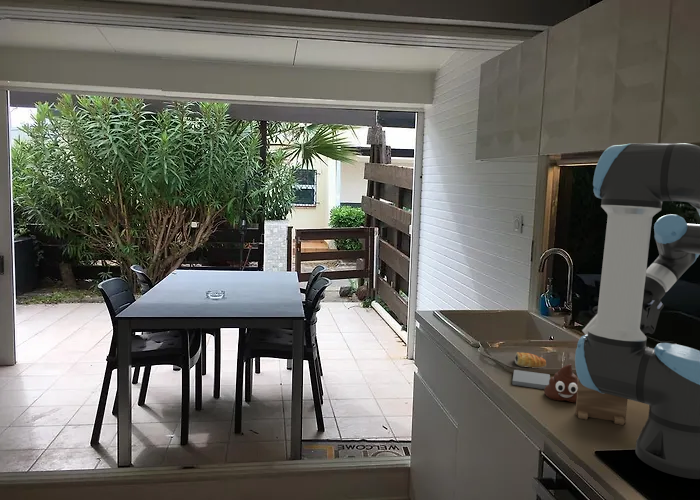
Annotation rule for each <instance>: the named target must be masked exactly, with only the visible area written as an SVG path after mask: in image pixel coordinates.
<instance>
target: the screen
mask: <svg viewBox="0 0 700 500" xmlns="http://www.w3.org/2000/svg"><path fill="white" fill-rule="evenodd" d="M577 379H578V378H577ZM628 400H629V399H625V398H621V397H618V396H614V395H610V394H606V393H605V394H603V393H600V392H598V391H596V390H592V389H589V388H587V387H585V386H583V385H582V384H581V382H580V380H579V379H578V389H577V401H576V403H575V416H577V418H578V419H583V420H588V418H592V419H593V418H594V419H600V420H606V421H613V423H614V424H615V425H621V426H624V425H625V423H626V418H627V408H628Z"/></svg>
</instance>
